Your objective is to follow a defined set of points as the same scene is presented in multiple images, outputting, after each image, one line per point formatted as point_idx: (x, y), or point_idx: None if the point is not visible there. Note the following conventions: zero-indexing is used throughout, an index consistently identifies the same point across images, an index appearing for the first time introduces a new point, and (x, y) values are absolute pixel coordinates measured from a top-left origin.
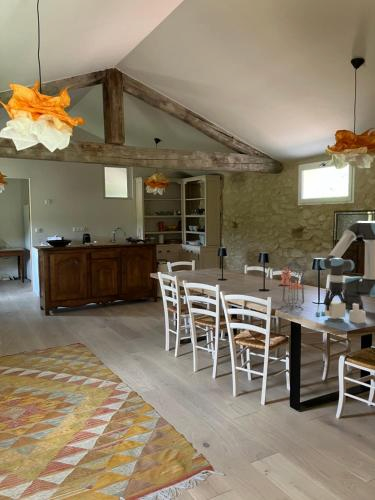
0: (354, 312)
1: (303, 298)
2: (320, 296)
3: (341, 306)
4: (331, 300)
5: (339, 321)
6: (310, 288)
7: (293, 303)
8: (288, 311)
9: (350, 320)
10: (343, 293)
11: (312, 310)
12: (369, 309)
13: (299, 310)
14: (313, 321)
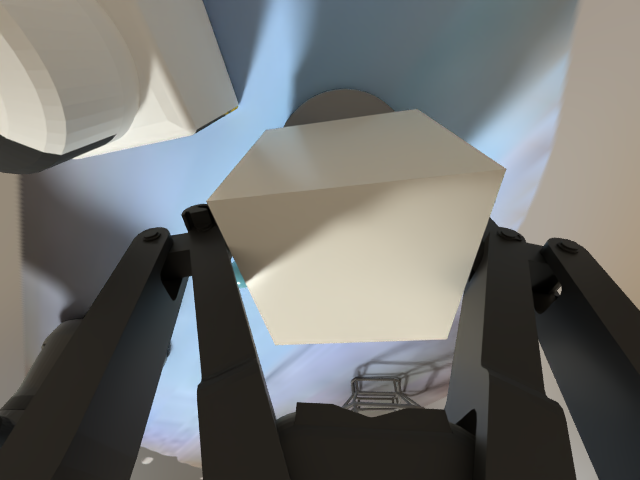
0: (138, 3)
1: None
2: (198, 431)
3: (309, 168)
4: (501, 296)
5: (354, 90)
6: (197, 460)
7: (408, 404)
8: (446, 361)
9: (229, 86)
10: (110, 470)
11: (327, 352)
12: (28, 315)
13: (385, 362)
14: (537, 179)
